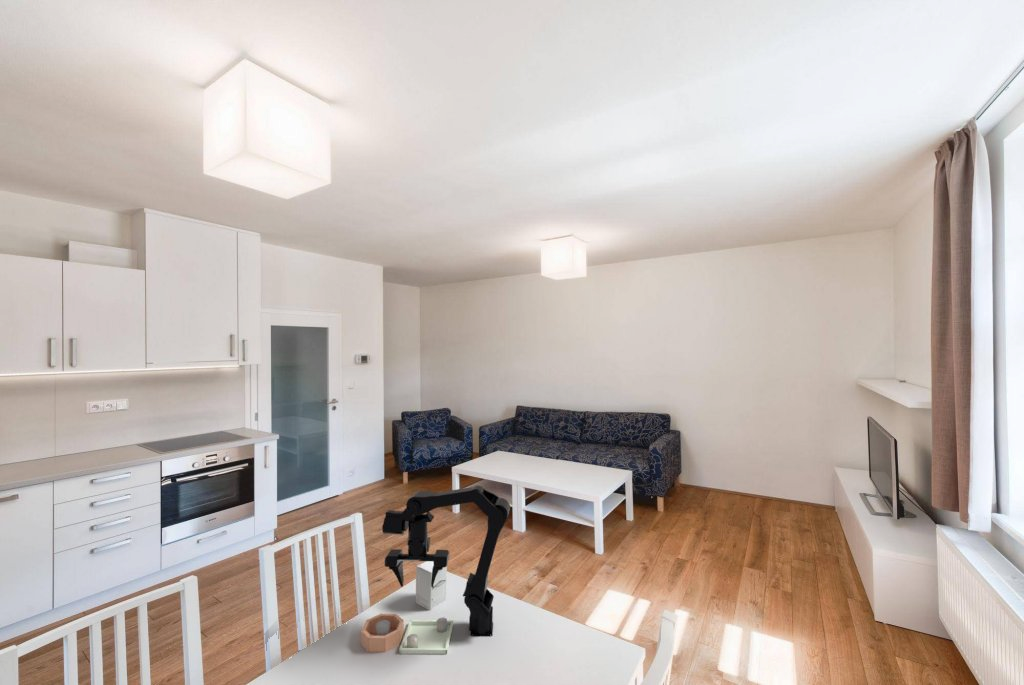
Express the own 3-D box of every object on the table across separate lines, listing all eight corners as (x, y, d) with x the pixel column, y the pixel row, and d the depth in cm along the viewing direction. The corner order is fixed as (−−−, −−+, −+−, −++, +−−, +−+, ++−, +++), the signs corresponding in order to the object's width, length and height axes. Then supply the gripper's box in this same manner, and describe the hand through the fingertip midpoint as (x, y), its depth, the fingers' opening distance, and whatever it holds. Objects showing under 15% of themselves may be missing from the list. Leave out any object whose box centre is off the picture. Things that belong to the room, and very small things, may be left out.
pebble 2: (447, 626, 129) (447, 617, 129) (446, 632, 126) (446, 623, 126) (437, 626, 129) (437, 617, 129) (436, 632, 126) (436, 623, 126)
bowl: (406, 628, 129) (406, 613, 129) (396, 653, 118) (396, 638, 118) (370, 627, 129) (370, 613, 129) (356, 653, 118) (357, 637, 118)
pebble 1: (418, 643, 121) (419, 634, 121) (416, 651, 118) (416, 641, 118) (408, 643, 121) (408, 633, 121) (405, 651, 118) (405, 641, 118)
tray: (453, 625, 130) (453, 620, 130) (447, 655, 118) (447, 649, 118) (410, 625, 130) (410, 620, 130) (399, 655, 118) (399, 649, 118)
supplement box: (430, 612, 137) (430, 572, 137) (415, 604, 141) (415, 565, 142) (446, 601, 143) (447, 563, 143) (431, 594, 147) (432, 557, 148)
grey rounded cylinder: (391, 633, 126) (391, 620, 126) (387, 643, 122) (387, 628, 122) (378, 633, 126) (378, 619, 126) (373, 642, 122) (373, 628, 122)
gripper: (452, 524, 139) (451, 572, 138) (394, 523, 139) (394, 572, 138) (446, 539, 128) (446, 592, 127) (384, 538, 128) (383, 591, 127)
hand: (417, 586), depth 130 cm, fingers open, 9 cm apart
